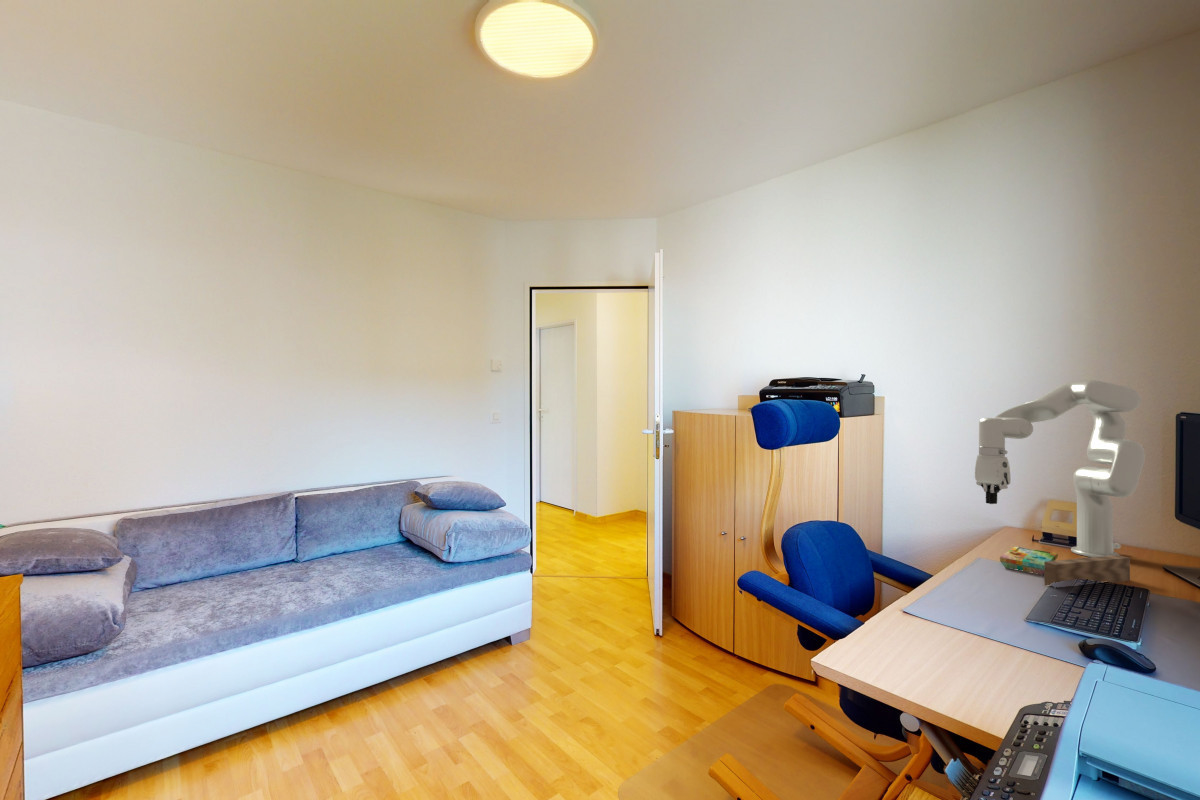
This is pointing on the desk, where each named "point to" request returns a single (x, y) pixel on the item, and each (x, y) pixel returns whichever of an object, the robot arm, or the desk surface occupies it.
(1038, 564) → the puzzle game
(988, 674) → the desk surface
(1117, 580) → the rail
